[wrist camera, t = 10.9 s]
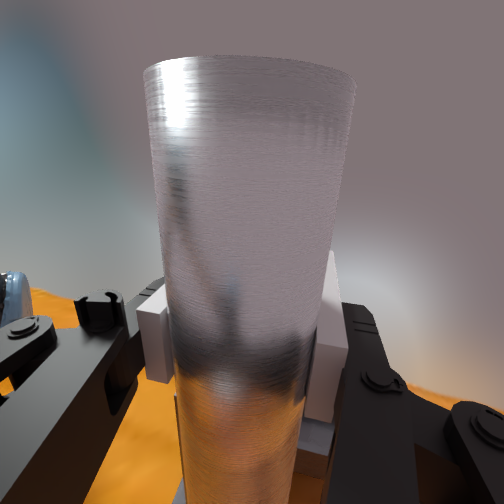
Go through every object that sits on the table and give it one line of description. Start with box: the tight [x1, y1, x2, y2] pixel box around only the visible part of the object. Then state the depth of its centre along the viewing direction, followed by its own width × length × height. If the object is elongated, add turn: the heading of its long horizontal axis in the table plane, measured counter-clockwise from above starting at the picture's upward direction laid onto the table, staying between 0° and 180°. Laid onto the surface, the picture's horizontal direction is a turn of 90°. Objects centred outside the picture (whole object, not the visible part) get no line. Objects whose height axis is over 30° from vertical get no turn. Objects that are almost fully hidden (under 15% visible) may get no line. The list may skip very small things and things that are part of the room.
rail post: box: [143, 55, 357, 504], centre depth 9 cm, size 4×4×16 cm
